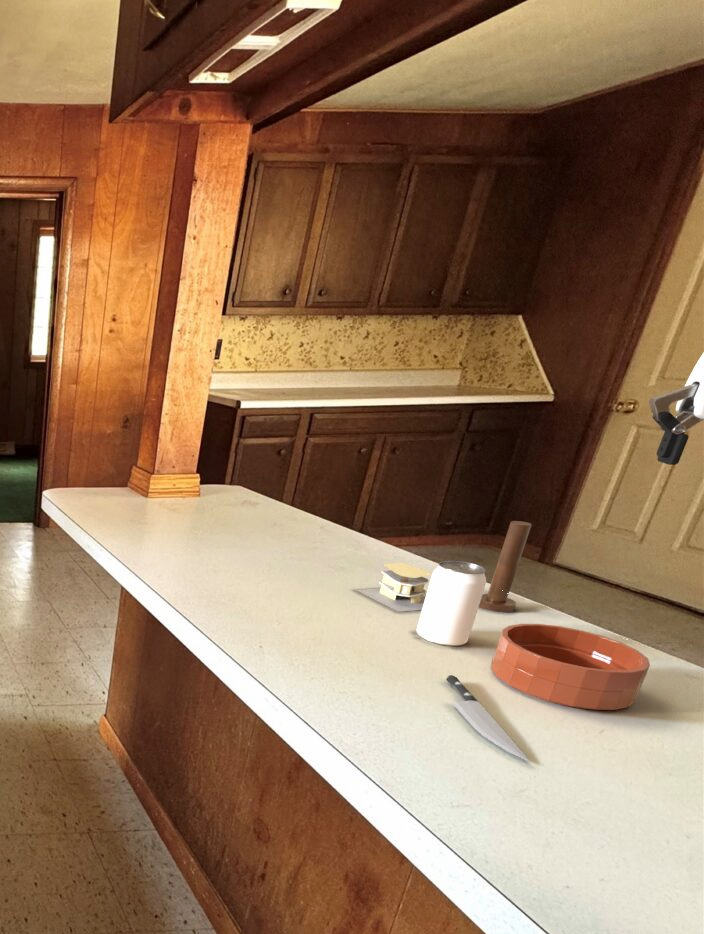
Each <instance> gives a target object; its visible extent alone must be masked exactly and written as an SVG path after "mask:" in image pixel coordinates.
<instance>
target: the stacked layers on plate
mask: <svg viewBox="0 0 704 934" xmlns="http://www.w3.org/2000/svg"><path fill="white" fill-rule="evenodd" d="M383 565H384V566H385V567H386V568H388V570H381V574H383V577H382V580H379V581H378V583H379V584H380V587H379V588H366V589H356V591H357V592H359V593H361V594H363V595H365V596H367V597H368V598H370V599H373V600H374V601H376V602H378V603H380V604H383V605H384V606H386V607H388V608H389V609H392V610H394V611H396V612H398V613H400V612H413V611H422V608H423V605H424V601H425V598H426V597H424V596H423V595H426V593H427V591H426V589H424V588H425V586H426V585H425V584H428V583H429V582H430V581H429V579H428V578H426V576H430V575H432V574H431V572H429V571H428V570H425V569H422V568H419V567H416V566H413V565H410V564H407V563H405V562H399V563H398V562H397V563H396V562H395V563H384V564H383Z"/></svg>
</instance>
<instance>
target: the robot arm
mask: <svg viewBox="0 0 704 934" xmlns="http://www.w3.org/2000/svg"><path fill="white" fill-rule="evenodd" d="M674 403H676V407H675V412H676V413H678V414H676V415H673V414H672V413H671V411H670V410H671V408H670V406H671V405H672V404H674ZM648 404H649V408H650V411H651V413H652V419H653V420H654V421H655V422H656V424H657V425H658V426H659V427H660V430H661V431H663V434H662V437H661V441H660V443H659V445H658V448H657V451H656V456H657V458H656V459H657V462H660V463H663V464H666V465H670V466H675V465H678V464H679V462H680V460H681V458H682V455H683V453H684V450H685V449H686V445H687V443H688V440H689V434H686V432H687V431H689V430H691V428H693V427H695V426H696V425H698V424H700V423H701V422H702V421H704V352H702V354H701V356H700V357H699V359H698V360H697V362H696V364H695V365H694V367H693V369H692V372H690V375H689V376H688V379H687V380H686V383H685V384H684V386H682V387H679V388H677V389H673V390H670V391H668V392H667V391H666V392H665V393H662V394H659V395H656V396H653V397H651V398H650V399H649V400H648Z"/></svg>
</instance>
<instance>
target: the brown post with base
mask: <svg viewBox="0 0 704 934" xmlns="http://www.w3.org/2000/svg"><path fill="white" fill-rule="evenodd" d="M531 527H532V523H530V522H527V521H521V520H520V521H519V520H511V521H510V522H509V525H508V528H507V532H506V534H505V539H504V541H503V544H502V548H501V551H500V554H499V557H498V560H497V563H496V566H495V570H494V573H493V576H492V579H491V582H490V585H489V588H488V591H487V593H483V595H482V598H481V601H480V604H479V607H480V608H482V609H484V610H488V611H492V612H498V613H510V612H511V613H512V612H513V611H515V608H516V606H517V602H516V601H515V600H513V599H511V598H510V597H508V596H509V594H510V591H511V588H512V585H513V582H514V579H515V576H516V573H517V569H518V567H519V563H520V560H521V558H522V555H523V552H524V549H525V545H526V543H527V540H528V536H529V534H530V531H531ZM502 590H503V591H502ZM507 593H509V594H507ZM479 607H478V608H479Z"/></svg>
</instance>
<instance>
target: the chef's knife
mask: <svg viewBox="0 0 704 934" xmlns="http://www.w3.org/2000/svg"><path fill="white" fill-rule="evenodd" d="M445 680H446V681H447V683H448V684H450V685H452V686H453V687H454V688H455V689H456V690H457V691H458V692H459V694H460V695H461V696H462V698H463V699H464V700H462V701H454V702H451V704H452V705H453V706H454V707H455V709H456V710H457V711H458V712H459V713H460V715H462V716H463V718H464V719H465V720H466V721H467V722H468V723H469V724H470V726H471V727H472V728H473V729H474V730H475V731H476V732H478V733H479V734H480V735H481V736H482V737H483V738H485V739H487V740H489V741H490V742H492V743H493V744H495V745H496V746H498V747H500V748H501V749H503V750H504V751H506V752H507V753H510V754H511V755H514V756H515V757H518V758H520V759H522V760H525V761H526V762H527V761H528V762H530V760H529V759H528V758H527V756H526V755H525V754H524V752H523V751H522V750H521V749H520V748H519V746H517V744H516V743H515V742H514V740H512V738H511V737H510V736H509V735H508V734H507V733H506V731H505V730H504V729H503V728H502V727H501V726H500V725H499V723H498V722H497V721H496V720H495V718H493V716H491V714H490V713H489V712H488V711H487V709H485V707H484V706H483V705H482V704H481V703H480V702H479V701H478V700H477V698H476V697H475V696H474V695H473V694H471V692H470V691H469V690H468V688H466V686H465V685H463V683H462V682H461V681H460V680H459V678H458V677H457V676H455V675H453V674H451V675H448V676H447V677H446V678H445Z"/></svg>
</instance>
